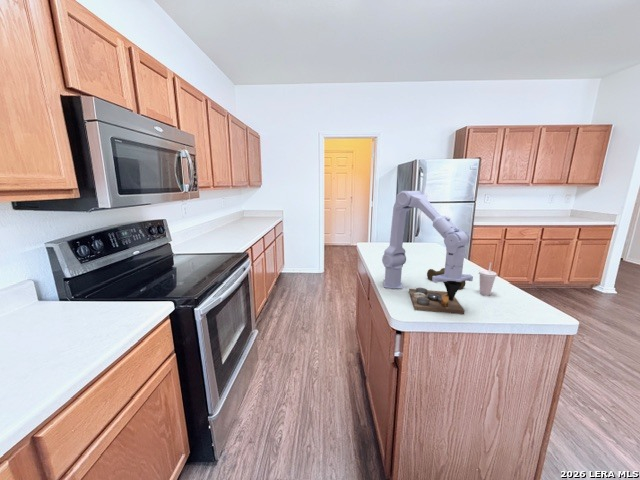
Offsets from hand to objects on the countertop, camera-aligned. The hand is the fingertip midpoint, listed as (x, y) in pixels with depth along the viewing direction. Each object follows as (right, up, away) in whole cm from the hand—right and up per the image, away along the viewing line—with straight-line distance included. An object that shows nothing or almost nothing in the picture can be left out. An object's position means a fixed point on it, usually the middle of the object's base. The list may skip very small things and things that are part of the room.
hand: (450, 299), depth 97 cm
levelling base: (-3, -3, +7) cm, 8 cm away
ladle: (-3, -1, +4) cm, 5 cm away
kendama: (+11, +1, +29) cm, 31 cm away
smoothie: (+22, -1, +15) cm, 27 cm away
